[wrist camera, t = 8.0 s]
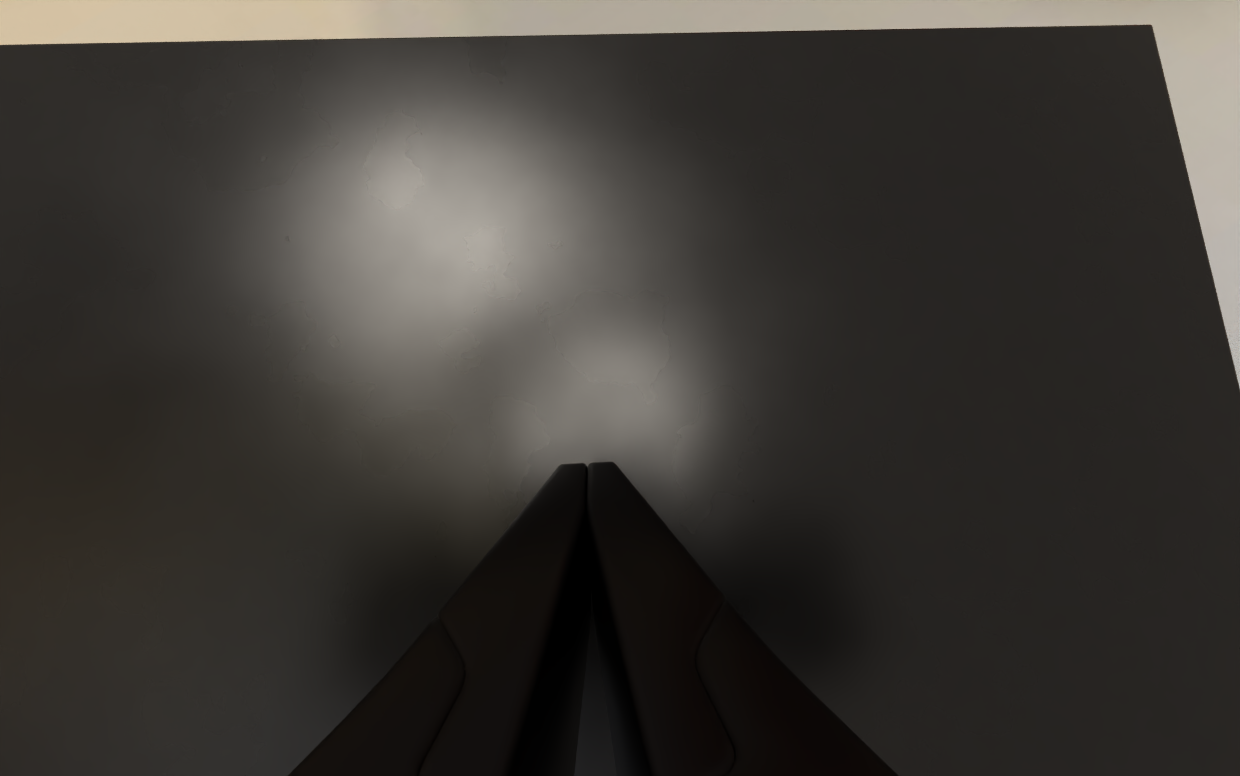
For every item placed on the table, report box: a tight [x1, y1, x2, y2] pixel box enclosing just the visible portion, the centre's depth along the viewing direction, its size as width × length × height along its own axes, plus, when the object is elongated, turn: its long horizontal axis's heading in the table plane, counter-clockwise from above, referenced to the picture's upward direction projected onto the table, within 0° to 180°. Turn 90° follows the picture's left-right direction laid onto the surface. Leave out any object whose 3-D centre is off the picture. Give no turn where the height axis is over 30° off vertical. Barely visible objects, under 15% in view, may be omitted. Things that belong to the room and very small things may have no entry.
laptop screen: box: [0, 25, 1240, 776], centre depth 12 cm, size 21×30×1 cm
